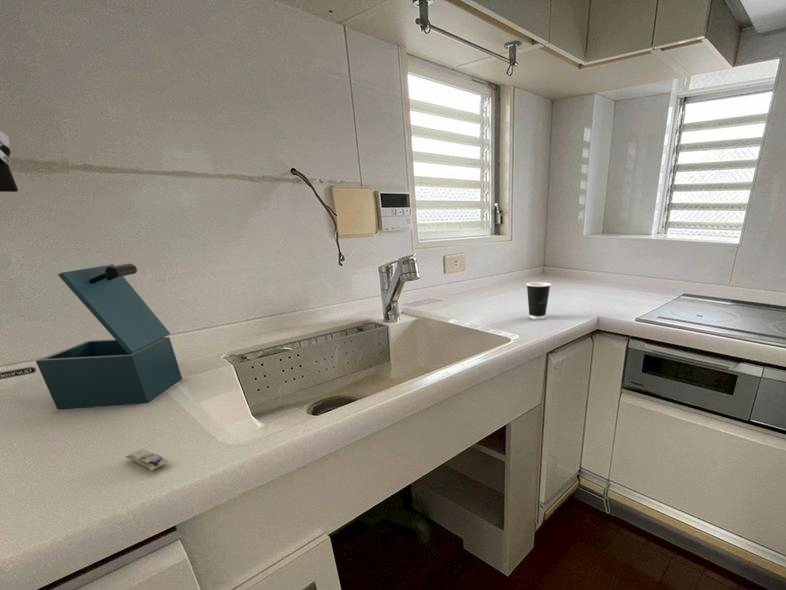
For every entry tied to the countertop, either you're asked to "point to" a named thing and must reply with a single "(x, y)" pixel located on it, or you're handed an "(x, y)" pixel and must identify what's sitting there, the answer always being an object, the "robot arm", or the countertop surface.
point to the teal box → (109, 373)
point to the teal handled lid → (116, 304)
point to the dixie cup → (537, 299)
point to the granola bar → (147, 459)
